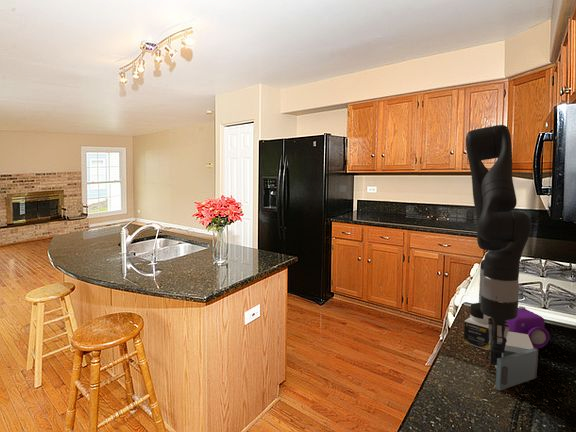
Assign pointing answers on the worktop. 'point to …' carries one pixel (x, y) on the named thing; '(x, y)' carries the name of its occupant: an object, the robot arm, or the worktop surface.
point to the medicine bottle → (477, 328)
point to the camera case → (516, 343)
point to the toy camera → (530, 327)
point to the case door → (516, 368)
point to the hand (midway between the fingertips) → (495, 363)
